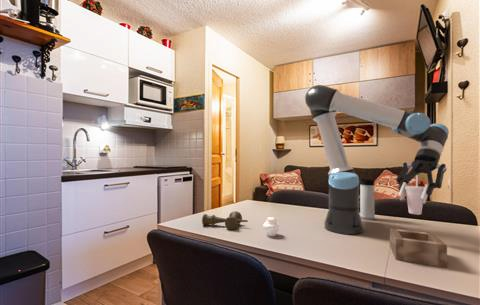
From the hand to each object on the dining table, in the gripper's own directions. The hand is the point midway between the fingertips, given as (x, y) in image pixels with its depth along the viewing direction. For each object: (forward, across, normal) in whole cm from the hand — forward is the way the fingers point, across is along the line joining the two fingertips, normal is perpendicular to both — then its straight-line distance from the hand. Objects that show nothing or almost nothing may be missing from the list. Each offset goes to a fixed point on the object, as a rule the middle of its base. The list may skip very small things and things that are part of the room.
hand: (411, 199), depth 88 cm
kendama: (+43, +54, +19) cm, 72 cm away
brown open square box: (+20, -6, -2) cm, 21 cm away
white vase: (+37, +34, +14) cm, 52 cm away
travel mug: (-4, +27, -26) cm, 38 cm away
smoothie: (+1, 0, -6) cm, 7 cm away
